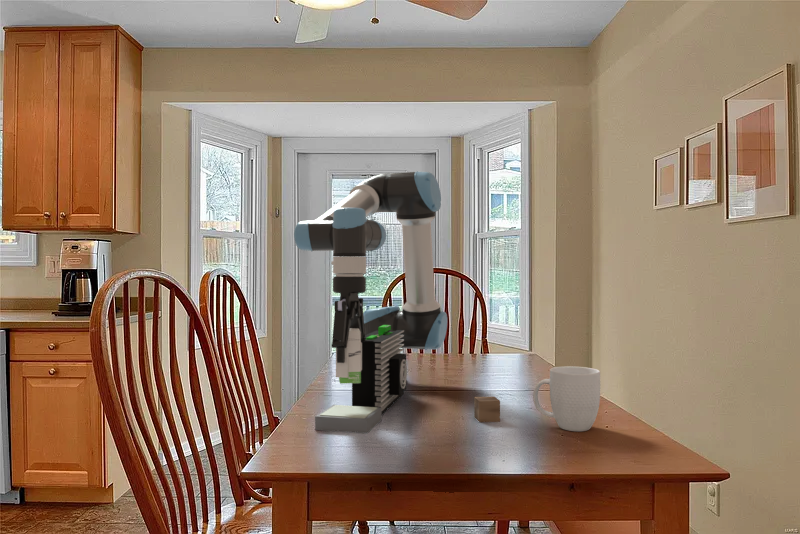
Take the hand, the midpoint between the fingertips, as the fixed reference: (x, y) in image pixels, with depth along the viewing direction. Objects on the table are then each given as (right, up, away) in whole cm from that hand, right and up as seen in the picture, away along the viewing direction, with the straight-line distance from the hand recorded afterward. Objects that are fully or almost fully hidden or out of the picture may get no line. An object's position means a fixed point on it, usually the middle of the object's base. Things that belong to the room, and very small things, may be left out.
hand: (349, 373), depth 149 cm
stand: (0, -12, 0) cm, 12 cm away
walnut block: (+32, -12, +6) cm, 35 cm away
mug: (+50, -12, -2) cm, 51 cm away
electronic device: (+7, -12, +23) cm, 27 cm away
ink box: (0, -2, 0) cm, 2 cm away
